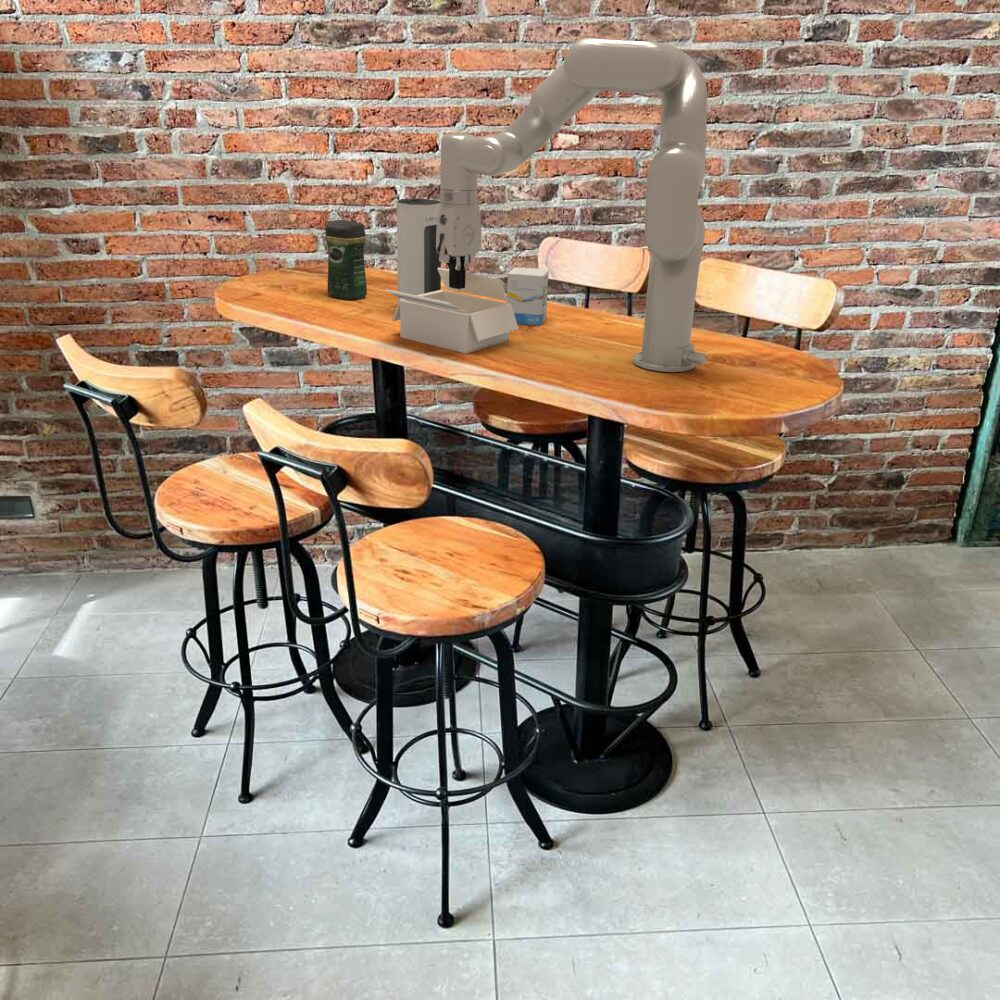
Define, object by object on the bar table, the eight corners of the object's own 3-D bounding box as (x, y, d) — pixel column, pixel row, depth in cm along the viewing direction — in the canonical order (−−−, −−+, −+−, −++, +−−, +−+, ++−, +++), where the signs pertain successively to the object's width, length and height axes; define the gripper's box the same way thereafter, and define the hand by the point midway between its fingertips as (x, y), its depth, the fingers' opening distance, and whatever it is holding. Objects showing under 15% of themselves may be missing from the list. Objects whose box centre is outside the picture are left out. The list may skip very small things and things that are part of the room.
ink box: (540, 326, 225) (543, 275, 220) (504, 323, 226) (506, 272, 221) (546, 318, 232) (549, 268, 228) (511, 315, 234) (513, 266, 229)
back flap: (507, 299, 208) (500, 279, 204) (506, 301, 208) (499, 280, 204) (446, 287, 218) (438, 267, 214) (445, 288, 218) (437, 268, 214)
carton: (519, 343, 210) (520, 305, 207) (477, 356, 199) (478, 316, 196) (434, 323, 223) (434, 287, 220) (390, 335, 213) (390, 297, 209)
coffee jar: (372, 296, 246) (371, 221, 239) (351, 301, 240) (349, 224, 233) (343, 291, 251) (341, 216, 244) (322, 295, 245) (319, 219, 238)
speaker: (413, 319, 226) (413, 203, 215) (387, 310, 233) (386, 197, 223) (449, 313, 233) (451, 200, 222) (423, 305, 240) (423, 195, 229)
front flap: (465, 310, 198) (449, 302, 193) (464, 313, 198) (449, 304, 193) (402, 297, 207) (386, 289, 203) (401, 299, 207) (385, 291, 203)
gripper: (449, 202, 192) (447, 295, 200) (495, 197, 203) (492, 285, 211) (420, 198, 196) (420, 290, 204) (467, 193, 207) (465, 280, 215)
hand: (457, 287), depth 207 cm, fingers closed
